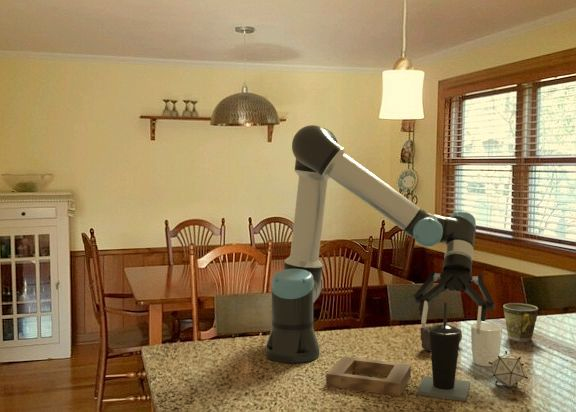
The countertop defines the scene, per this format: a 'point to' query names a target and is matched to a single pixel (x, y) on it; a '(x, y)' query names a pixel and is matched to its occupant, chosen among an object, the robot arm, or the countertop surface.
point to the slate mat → (455, 393)
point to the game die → (508, 370)
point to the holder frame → (391, 385)
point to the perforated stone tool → (428, 338)
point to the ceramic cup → (520, 321)
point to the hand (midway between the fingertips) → (450, 328)
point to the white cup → (485, 343)
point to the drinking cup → (444, 353)
